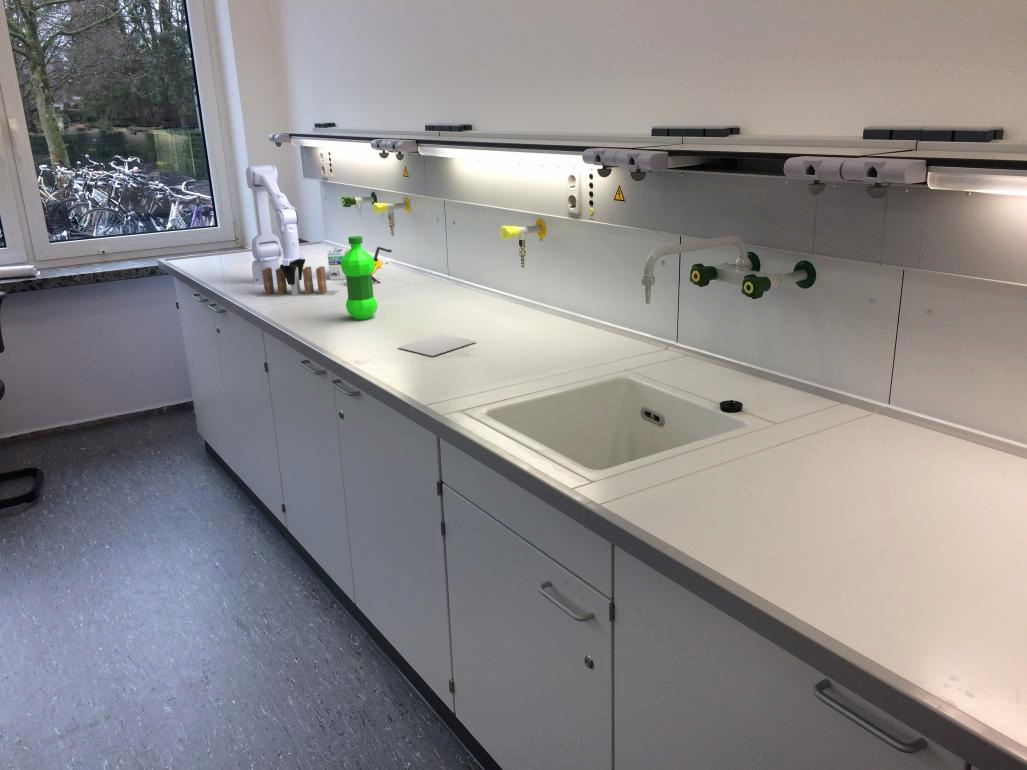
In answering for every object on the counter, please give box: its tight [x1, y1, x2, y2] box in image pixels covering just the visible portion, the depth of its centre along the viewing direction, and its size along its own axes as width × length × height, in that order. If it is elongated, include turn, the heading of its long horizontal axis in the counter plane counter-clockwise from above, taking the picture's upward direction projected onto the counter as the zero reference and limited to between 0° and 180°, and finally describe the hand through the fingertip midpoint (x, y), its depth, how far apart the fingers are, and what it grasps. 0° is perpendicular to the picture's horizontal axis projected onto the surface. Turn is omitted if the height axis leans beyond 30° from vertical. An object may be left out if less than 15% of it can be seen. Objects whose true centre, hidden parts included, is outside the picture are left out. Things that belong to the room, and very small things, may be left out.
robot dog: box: [345, 246, 393, 284], centre depth 309 cm, size 6×18×13 cm, turn 120°
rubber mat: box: [255, 290, 340, 298], centre depth 298 cm, size 28×8×1 cm, turn 86°
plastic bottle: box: [341, 235, 378, 321], centre depth 258 cm, size 10×10×25 cm
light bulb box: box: [327, 247, 350, 281], centre depth 324 cm, size 11×7×11 cm, turn 2°
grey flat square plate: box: [397, 333, 478, 357], centre depth 223 cm, size 23×25×1 cm
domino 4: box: [315, 265, 328, 296], centre depth 296 cm, size 2×5×9 cm, turn 176°
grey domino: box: [290, 267, 302, 295], centre depth 296 cm, size 2×5×9 cm, turn 176°
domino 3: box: [302, 266, 315, 295], centre depth 296 cm, size 2×5×9 cm, turn 176°
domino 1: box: [262, 268, 275, 297], centre depth 297 cm, size 2×5×9 cm, turn 176°
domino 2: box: [276, 267, 288, 295], centre depth 297 cm, size 2×5×9 cm, turn 176°
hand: (295, 282), depth 296 cm, fingers open, 7 cm apart
